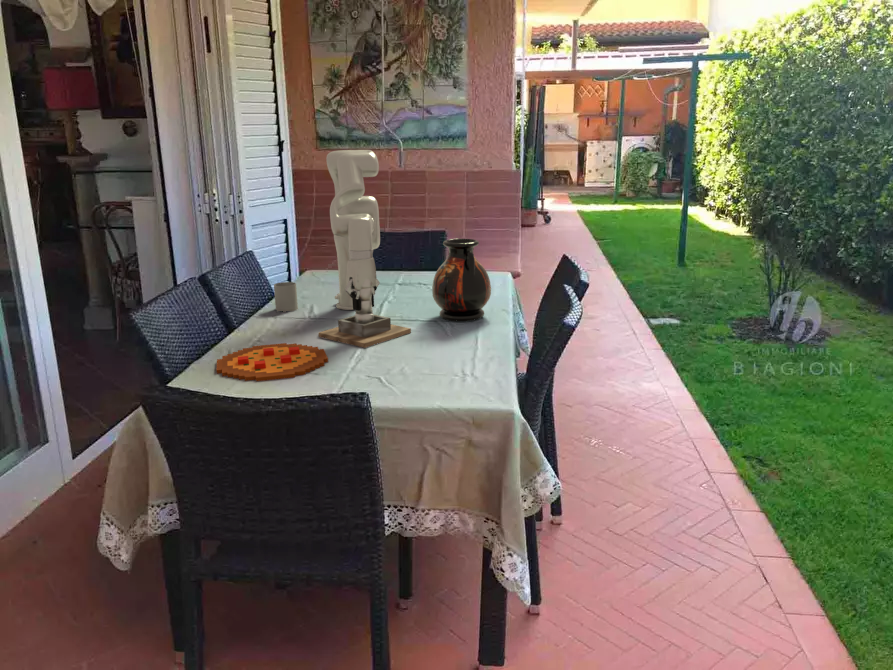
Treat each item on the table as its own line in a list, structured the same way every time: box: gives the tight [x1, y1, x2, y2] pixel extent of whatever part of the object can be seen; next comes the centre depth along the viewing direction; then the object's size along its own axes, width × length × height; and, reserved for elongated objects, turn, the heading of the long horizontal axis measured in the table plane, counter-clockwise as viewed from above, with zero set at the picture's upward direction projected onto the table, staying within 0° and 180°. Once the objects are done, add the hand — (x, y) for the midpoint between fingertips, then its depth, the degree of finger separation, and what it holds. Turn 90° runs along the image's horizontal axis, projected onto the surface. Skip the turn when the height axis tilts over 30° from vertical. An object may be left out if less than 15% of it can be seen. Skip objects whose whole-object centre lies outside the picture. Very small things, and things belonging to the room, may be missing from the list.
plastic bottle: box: [354, 279, 375, 324], centre depth 243 cm, size 6×7×20 cm
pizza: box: [216, 342, 329, 382], centre depth 219 cm, size 32×32×3 cm
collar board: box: [317, 314, 412, 349], centre depth 246 cm, size 22×22×6 cm
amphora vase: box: [431, 238, 492, 323], centre depth 264 cm, size 22×22×28 cm
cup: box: [273, 281, 299, 313], centre depth 282 cm, size 8×8×10 cm
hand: (363, 307), depth 244 cm, fingers closed on plastic bottle, 5 cm apart
